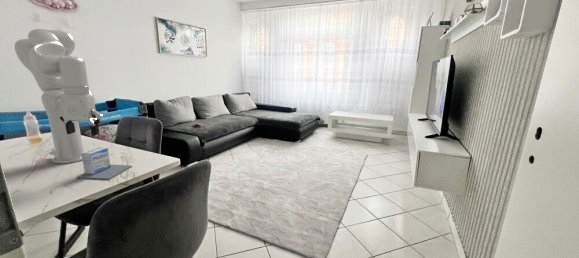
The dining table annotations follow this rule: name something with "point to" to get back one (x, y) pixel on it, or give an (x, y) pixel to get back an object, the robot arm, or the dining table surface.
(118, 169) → the mat
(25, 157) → the dining table surface
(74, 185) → the dining table surface
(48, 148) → the dining table surface
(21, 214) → the dining table surface
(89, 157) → the medicine box
